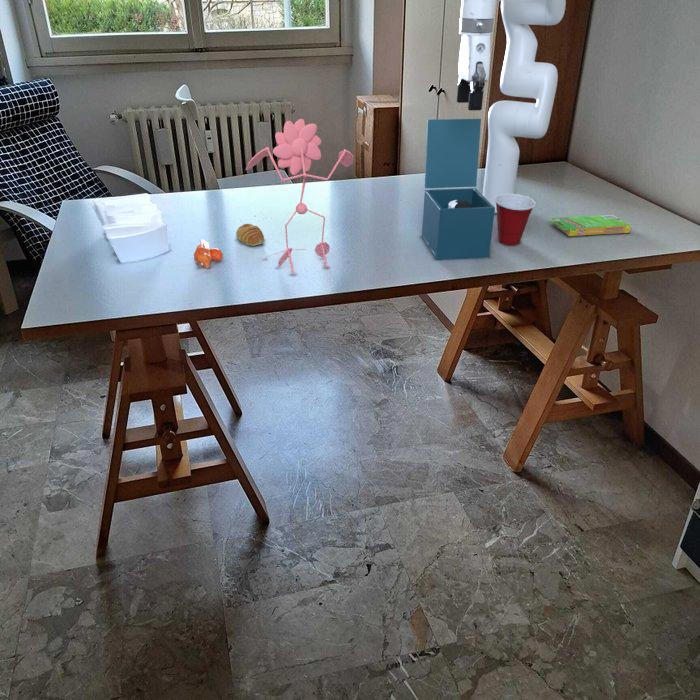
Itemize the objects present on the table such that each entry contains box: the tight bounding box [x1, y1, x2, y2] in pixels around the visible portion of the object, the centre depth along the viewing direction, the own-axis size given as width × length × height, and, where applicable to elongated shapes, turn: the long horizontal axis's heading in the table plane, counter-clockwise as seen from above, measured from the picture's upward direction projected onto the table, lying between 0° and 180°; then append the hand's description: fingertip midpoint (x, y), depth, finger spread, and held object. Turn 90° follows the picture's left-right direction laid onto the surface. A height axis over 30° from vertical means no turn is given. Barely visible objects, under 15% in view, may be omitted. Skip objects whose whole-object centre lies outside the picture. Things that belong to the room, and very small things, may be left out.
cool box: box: [421, 187, 495, 261], centre depth 175 cm, size 17×14×13 cm
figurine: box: [245, 118, 355, 275], centre depth 160 cm, size 15×26×35 cm, turn 118°
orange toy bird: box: [193, 239, 224, 269], centre depth 167 cm, size 5×8×12 cm
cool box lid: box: [424, 118, 482, 189], centre depth 177 cm, size 17×14×6 cm
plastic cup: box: [495, 193, 537, 247], centre depth 178 cm, size 11×11×12 cm
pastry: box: [235, 223, 265, 247], centre depth 179 cm, size 9×7×4 cm
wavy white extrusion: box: [91, 192, 170, 264], centre depth 175 cm, size 35×16×11 cm, turn 23°
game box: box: [549, 214, 632, 237], centre depth 190 cm, size 3×10×20 cm
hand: (468, 106), depth 159 cm, fingers open, 9 cm apart
